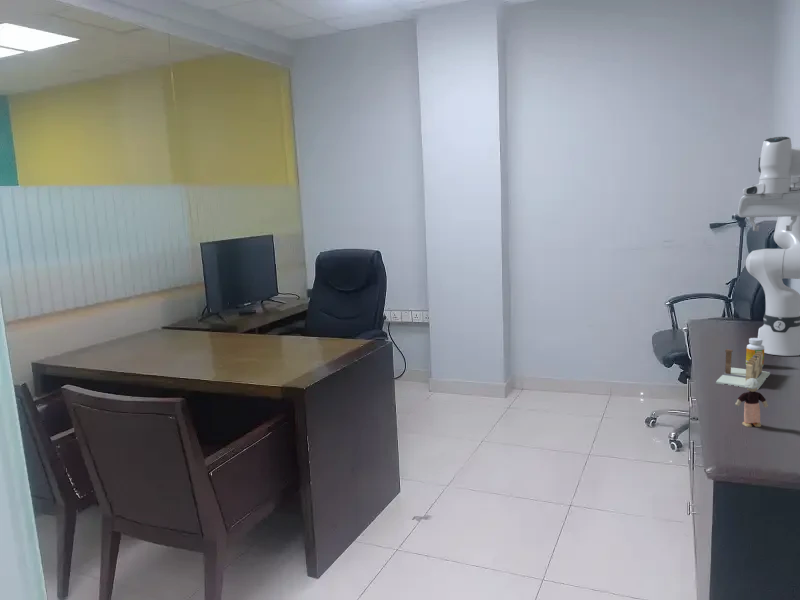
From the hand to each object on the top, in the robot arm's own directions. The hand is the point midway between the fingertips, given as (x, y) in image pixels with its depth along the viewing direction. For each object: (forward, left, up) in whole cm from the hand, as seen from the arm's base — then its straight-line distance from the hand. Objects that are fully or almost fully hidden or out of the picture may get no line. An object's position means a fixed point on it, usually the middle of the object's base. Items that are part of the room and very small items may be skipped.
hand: (772, 230), depth 199 cm
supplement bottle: (-5, -4, -48) cm, 48 cm away
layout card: (+13, -4, -48) cm, 49 cm away
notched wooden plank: (+18, -1, -46) cm, 50 cm away
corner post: (+11, -9, -48) cm, 50 cm away
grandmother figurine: (+57, +6, -48) cm, 75 cm away
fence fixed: (+9, -1, -47) cm, 48 cm away
